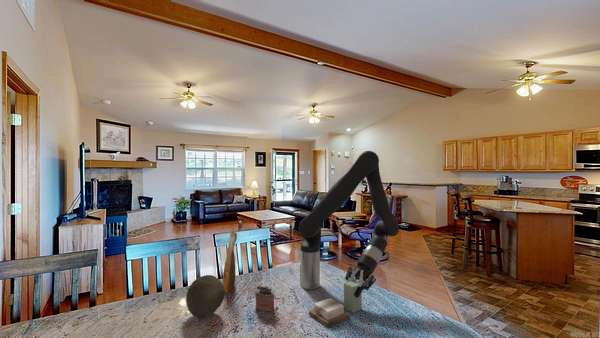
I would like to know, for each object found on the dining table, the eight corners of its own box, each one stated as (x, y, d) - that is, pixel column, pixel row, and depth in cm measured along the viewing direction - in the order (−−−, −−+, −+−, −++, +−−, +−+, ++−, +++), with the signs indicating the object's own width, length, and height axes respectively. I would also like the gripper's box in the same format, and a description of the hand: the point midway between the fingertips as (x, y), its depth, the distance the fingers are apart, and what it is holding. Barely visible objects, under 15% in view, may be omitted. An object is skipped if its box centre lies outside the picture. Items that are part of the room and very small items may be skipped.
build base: (308, 314, 111) (308, 303, 111) (330, 306, 118) (330, 295, 118) (327, 327, 102) (327, 314, 102) (349, 317, 109) (349, 306, 109)
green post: (344, 307, 117) (343, 283, 117) (352, 304, 120) (352, 280, 120) (353, 312, 113) (352, 287, 113) (361, 308, 116) (361, 284, 116)
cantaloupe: (188, 329, 102) (188, 286, 102) (184, 311, 114) (184, 274, 114) (228, 319, 108) (228, 279, 108) (220, 303, 121) (220, 268, 121)
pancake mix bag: (237, 279, 148) (236, 224, 148) (237, 294, 130) (236, 232, 130) (223, 280, 147) (223, 225, 147) (221, 296, 128) (221, 233, 128)
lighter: (275, 311, 114) (275, 286, 114) (272, 315, 111) (272, 289, 111) (257, 308, 117) (257, 283, 117) (253, 311, 114) (253, 286, 114)
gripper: (353, 249, 127) (333, 283, 120) (379, 257, 115) (359, 295, 108) (361, 259, 130) (342, 292, 123) (387, 268, 118) (368, 305, 111)
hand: (350, 293), depth 115 cm, fingers closed on green post, 5 cm apart
